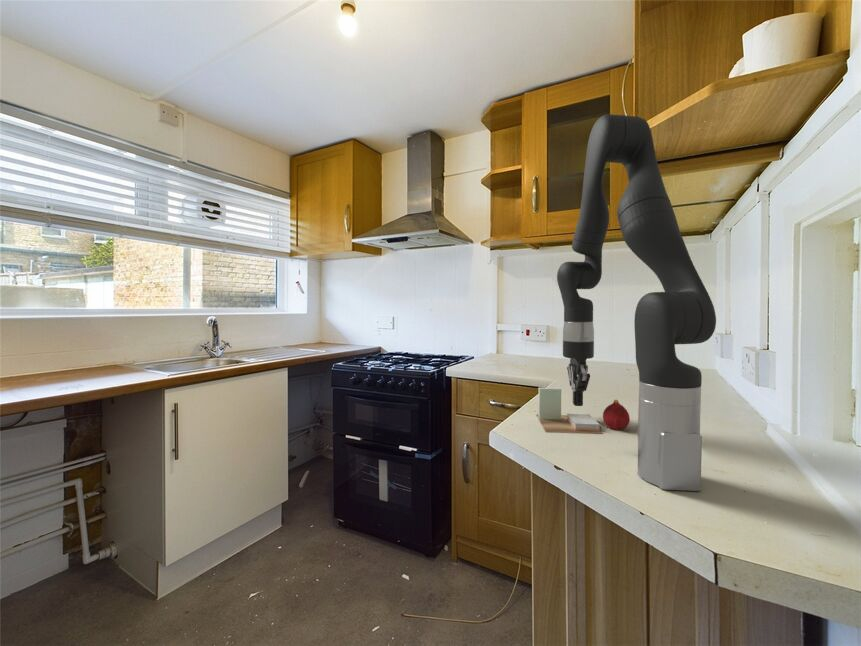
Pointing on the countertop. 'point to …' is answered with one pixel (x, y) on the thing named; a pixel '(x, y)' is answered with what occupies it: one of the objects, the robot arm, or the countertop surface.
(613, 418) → the onion
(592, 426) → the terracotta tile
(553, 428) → the walnut board
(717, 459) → the countertop surface
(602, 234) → the robot arm
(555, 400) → the sage tile
